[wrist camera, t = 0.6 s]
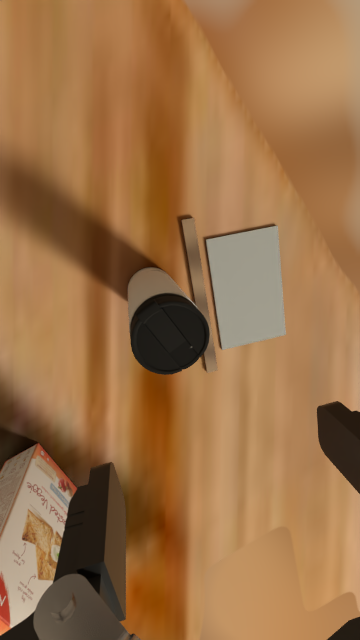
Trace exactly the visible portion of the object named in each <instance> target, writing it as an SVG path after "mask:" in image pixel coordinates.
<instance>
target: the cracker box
mask: <svg viewBox="0 0 360 640" xmlns="http://www.w3.org/2000/svg"><path fill="white" fill-rule="evenodd" d="M76 490H77V488H76V487H75V485H74V484H73V483H72V482H71V481H70V479H69V478H68V477H67V476H66V475H65V474H64V472H63V471H62V470H61V469H60V468H59V467H58V465H57V464H56V463H55V462H54V461H53V459H52V458H51V457H50V456H49V455H48V454H47V452H46V451H45V450H44V449H43V448H42V447H41V445H40V444H39V443H37V444H36V445H34V446H32V447H30V448H28V449H27V450H25V451H23V452H21V453H19V454H18V455H16V456H14V457H12V458H11V459H9V460H7V461H5V463H4V465H3V467H2V469H1V471H0V636H1V635H2V634H4V633H5V632H7V631H8V630H10V629H11V628H13V627H14V626H16V625H17V624H19V623H20V622H22V621H23V620H24V619H26V618H27V617H28V616H30V615H31V614H32V613H33V612H34V611H35V609H36V606H37V604H38V602H39V600H40V598H41V597H42V595H43V594H44V592H45V591H46V590H47V589H48V588H49V587H50V585H52V584H53V580H54V576H55V571H56V566H57V561H58V556H59V551H60V546H61V542H62V537H63V532H64V531H65V528H64V527H65V522H66V518H67V512H68V507H69V502H70V500H71V498H72V497H73V495H74V493H75V492H76Z"/></svg>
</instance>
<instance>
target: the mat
mask: <svg viewBox="0 0 360 640" xmlns="http://www.w3.org/2000/svg"><path fill="white" fill-rule="evenodd" d="M206 247H207V253H208V260H209V267H210V274H211V280H212V287H213V294H214V301H215V308H216V314H217V321H218V328H219V335H220V342H221V348H222V350H224V349H228V348H233V347H237V346H241V345H245V344H249V343H254V342H258V341H262V340H266V339H270V338H275V337H279V336H283V335H286V331H285V317H284V304H283V291H282V277H281V264H280V251H279V238H278V226H272V227H267V228H262V229H257V230H252V231H247V232H242V233H236V234H231V235H226V236H221V237H216V238H211V239H206Z"/></svg>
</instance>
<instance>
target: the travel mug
mask: <svg viewBox="0 0 360 640" xmlns="http://www.w3.org/2000/svg"><path fill="white" fill-rule="evenodd" d="M128 311H129V331H130V337H131V347H132V352H133V354H134V356H135V358H136V359H137V361H138V362H139V363H140V364H141V365H142V366H143V367H144V368H146V369H148V370H149V371H151V372H154V373H157V374H165V375H166V374H174V373H177V372H180V371H182V369H186V368H188V367H190V366H191V365H193V364H194V363H195V362H196V361H197V360H198V359H199V357H201V356H202V355H203V353H204V352H205V351H206V349H207V346H208V344H209V338H210V331H209V326H208V322H207V320H206V319H205V317H204V315H203V314H202V313H201V312H200V311H199V310H198V308H197V306H196V305H195V304H194V303H193V302H192V301H191V300H190V298H189V297H188V296H187V295H186V294H185V293H184V292H183V291H182V290H181V288H180V287H179V286H178V285H177V284H176V283H175V282H174V281H173V280H172V278H171V277H170V276H169V275H168V274H167V273H166V272H165V271H163V270H161V269H159V268H155V267H148V268H144V269H141V270H139V271H137V272H136V273H135V274H134V275H133V276H132V278H131V279H130V281H129V284H128Z"/></svg>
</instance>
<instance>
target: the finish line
mask: <svg viewBox="0 0 360 640" xmlns="http://www.w3.org/2000/svg"><path fill="white" fill-rule="evenodd" d="M181 223H182V229H183V235H184V241H185V247H186V253H187V258H188V264H189V270H190V276H191V282H192V288H193V294H194V300H195V305H196V306H197V308H198V310H199V311H200V312H201V313H202V314H203V315H204V317H205V319H206V320H207V322H208V326H209V331H210V338H209V344H208V346H207V349H206V351H205V352H204V353H203V354H204V360H205V366H206V371H207V373H209V372H213V371H218V369H217V362H216V356H215V349H214V343H213V337H212V330H211V324H210V317H209V311H208V304H207V298H206V291H205V285H204V279H203V272H202V266H201V259H200V253H199V246H198V240H197V233H196V227H195V221H194V218H189V219H184V220H181Z"/></svg>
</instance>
